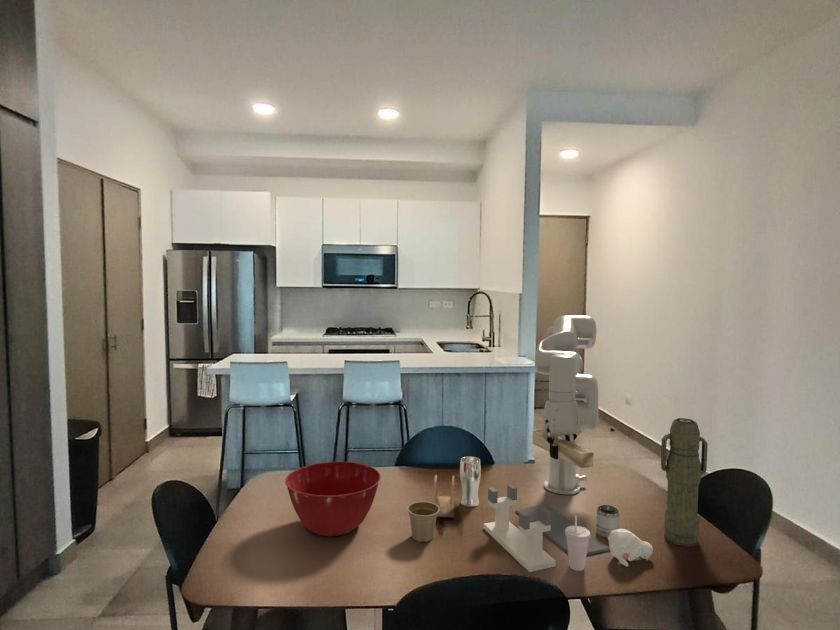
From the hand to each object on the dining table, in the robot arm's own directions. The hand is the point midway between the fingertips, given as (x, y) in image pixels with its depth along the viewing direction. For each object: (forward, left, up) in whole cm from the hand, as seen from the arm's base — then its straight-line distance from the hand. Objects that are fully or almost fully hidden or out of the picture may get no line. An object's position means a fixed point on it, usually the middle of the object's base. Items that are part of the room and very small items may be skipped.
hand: (560, 456), depth 152 cm
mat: (0, 0, -22) cm, 22 cm away
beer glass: (+17, -26, -23) cm, 39 cm away
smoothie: (+8, +18, -23) cm, 30 cm away
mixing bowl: (+63, -26, -23) cm, 72 cm away
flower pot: (+40, -10, -23) cm, 47 cm away
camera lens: (-12, +7, -23) cm, 27 cm away
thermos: (-30, +17, -23) cm, 41 cm away
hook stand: (+17, +4, -22) cm, 28 cm away
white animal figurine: (-8, +21, -23) cm, 32 cm away
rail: (0, 0, +1) cm, 1 cm away
